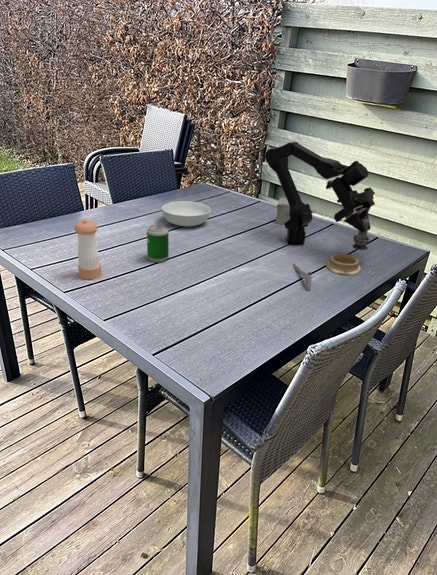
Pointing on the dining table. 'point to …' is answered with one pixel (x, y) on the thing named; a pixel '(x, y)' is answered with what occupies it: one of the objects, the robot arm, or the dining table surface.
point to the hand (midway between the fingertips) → (366, 230)
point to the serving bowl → (186, 213)
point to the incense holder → (282, 211)
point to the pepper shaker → (87, 250)
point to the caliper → (304, 275)
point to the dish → (343, 264)
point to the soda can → (157, 243)
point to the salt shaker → (362, 236)
